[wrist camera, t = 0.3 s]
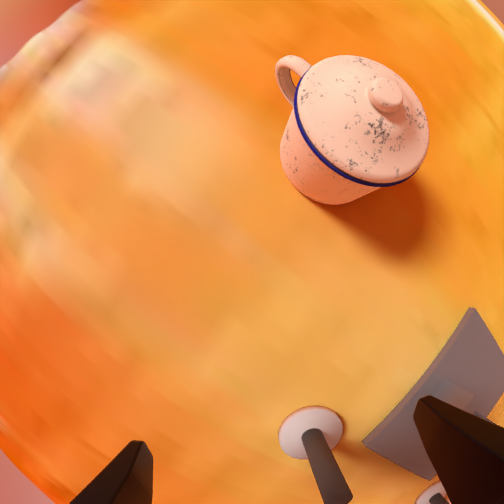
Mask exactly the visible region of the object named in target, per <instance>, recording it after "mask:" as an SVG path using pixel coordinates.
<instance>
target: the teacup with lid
mask: <svg viewBox="0 0 504 504" xmlns="http://www.w3.org/2000/svg"><path fill="white" fill-rule="evenodd" d="M290 69H291V70H292V71H294V72H295V73H296V74H297V75H298V76H300V77H301V79H300V81H299V83H298V85H297V87H295V86H294V84H293V81H292V78H291V74H290ZM275 74H276V80H277V83H278V86H279V88H280V90H281V92H282V94H283V95H284V97H285V98H286V100H287V101H288V102H289V103H290V104H291V106H292V107H293V110H292V112H291V115H290V118H289V120H288V123H287V126H286V128H285V131H284V134H283V136H282V139H281V144H280V158H281V163H282V167H283V169H284V172H285V174H286V176H287V177H288V179H289V180H290V182H291V183H292V184H293V185H294V186H295V188H296V189H298V190H299V191H300V192H301V193H302V194H304V195H305V196H307V197H308V198H310V199H312V200H314V201H317V202H320V203H324V204H331V205H338V204H345V203H348V202H351V201H353V200H356V199H358V198H360V197H362V196H364V195H366V194H368V193H371V192H373V191H375V190H377V189H379V188H381V187H388V186H393V185H396V184H399V183H401V182H404V181H405V180H407V179H409V178H410V177H411V176H412V175H413V174H415V172H416V171H417V170H418V169H419V167H420V166H421V164H422V162H423V161H424V159H425V156H426V153H427V150H428V145H429V126H428V121H427V117H426V114H425V112H424V109H423V107H422V105H421V103H420V101H419V99H418V97H417V96H416V94H415V93H414V92H413V90H412V89H411V88H410V86H409V85H408V84H407V83H406V82H405V81H404V80H403V79H402V78H401V77H400V76H398V75H397V74H396V73H395V72H393V71H392V70H390V69H389V68H387V67H386V66H384V65H382V64H380V63H378V62H376V61H373V60H370V59H367V58H364V57H359V56H351V55H341V56H335V57H330V58H327V59H324V60H322V61H320V62H318V63H317V64H315V65H314V66H311V65H310V64H309V63H308V62H306V61H305V60H304V59H302V58H300V57H297V56H293V55H289V56H285V57H284V58H282V59H280V60H279V61H278V62H277V64H276V68H275Z"/></svg>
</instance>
